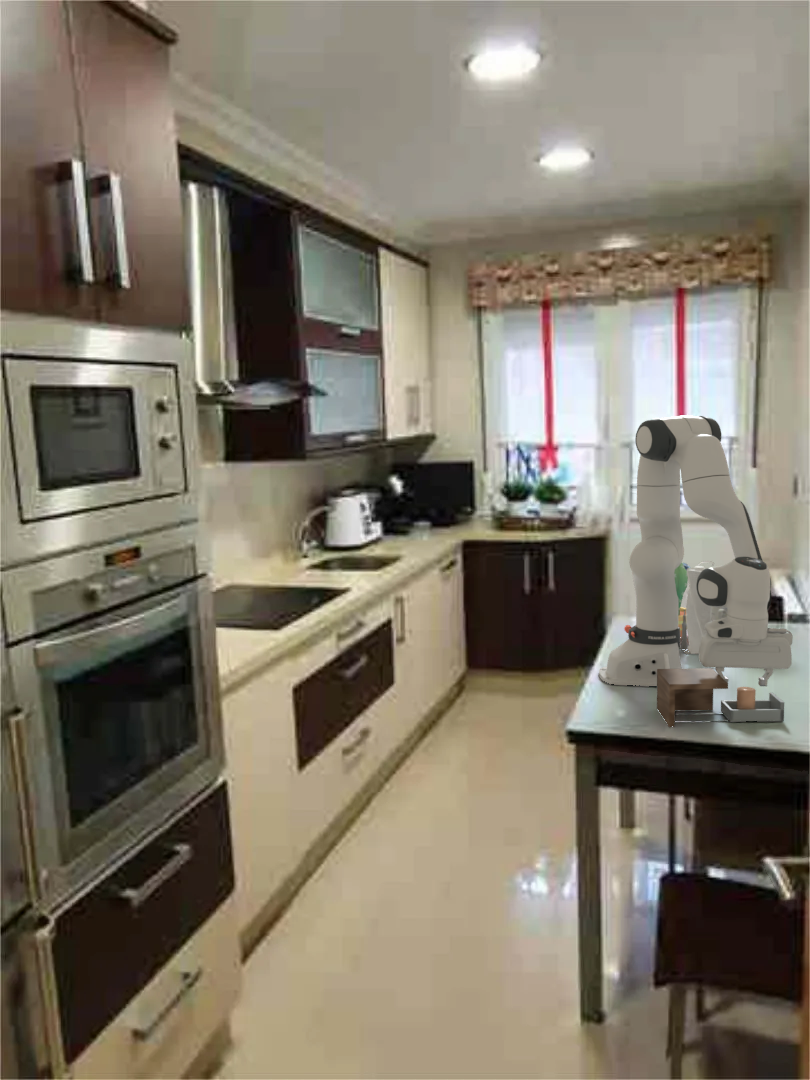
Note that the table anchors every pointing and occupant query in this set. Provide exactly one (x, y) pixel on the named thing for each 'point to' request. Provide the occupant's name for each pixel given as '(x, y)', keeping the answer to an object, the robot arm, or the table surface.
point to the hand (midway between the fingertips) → (743, 685)
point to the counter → (686, 690)
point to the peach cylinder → (746, 698)
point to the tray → (755, 710)
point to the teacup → (719, 613)
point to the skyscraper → (694, 613)
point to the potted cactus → (681, 589)
